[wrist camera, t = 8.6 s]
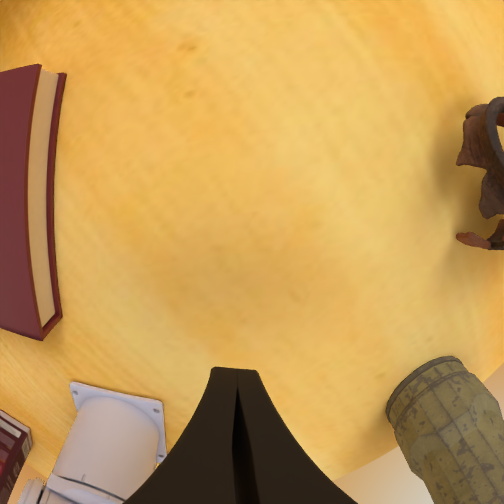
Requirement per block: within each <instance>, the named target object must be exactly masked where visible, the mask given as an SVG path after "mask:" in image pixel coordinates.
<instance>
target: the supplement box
mask: <svg viewBox="0 0 504 504" xmlns="http://www.w3.org/2000/svg"><path fill="white" fill-rule="evenodd" d="M31 447H32V440H31V434H30V429H29V428H28V427H26V426H25V425H23V424H21V423H20V422H18V421H17V420H15V419H13V418H12V417H10V416H9V415H7V414H6V413H4V412H3V411H1V410H0V504H7V502H8V500H9V497H10V495H11V492H12V490H13V488H14V485H15V483H16V480H17V478H18V475H19V473H20V471H21V469H22V467H23V465H24V462H25V460H26V458H27V456H28V454H29V452H30V450H31Z"/></svg>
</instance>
